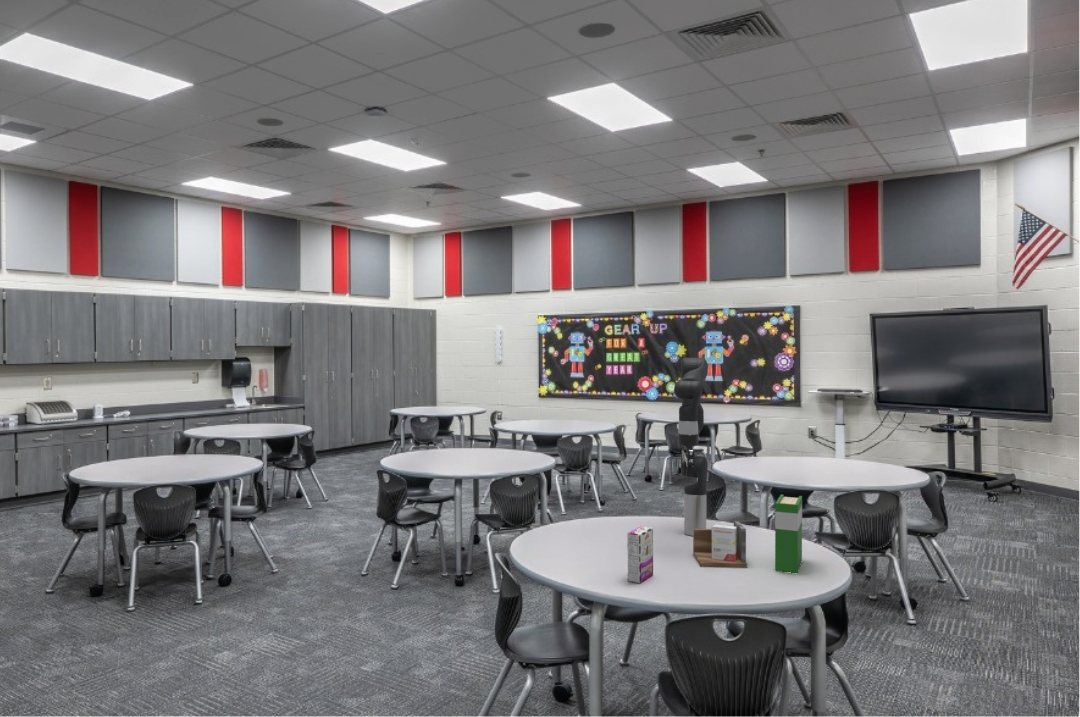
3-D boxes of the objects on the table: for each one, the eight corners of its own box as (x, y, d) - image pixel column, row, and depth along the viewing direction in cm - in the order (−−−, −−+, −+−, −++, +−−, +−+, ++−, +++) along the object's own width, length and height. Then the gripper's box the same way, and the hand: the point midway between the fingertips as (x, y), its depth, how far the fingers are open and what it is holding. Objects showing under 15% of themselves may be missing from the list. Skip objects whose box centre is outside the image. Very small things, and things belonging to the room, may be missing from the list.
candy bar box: (640, 572, 239) (640, 525, 240) (653, 575, 237) (653, 527, 237) (626, 581, 230) (626, 532, 230) (640, 584, 227) (640, 534, 227)
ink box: (737, 558, 252) (737, 526, 252) (735, 561, 248) (735, 529, 248) (713, 555, 256) (713, 523, 256) (711, 559, 251) (711, 526, 251)
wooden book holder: (693, 555, 262) (693, 519, 262) (737, 555, 261) (737, 520, 261) (700, 566, 247) (700, 529, 247) (747, 567, 246) (747, 530, 246)
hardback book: (780, 558, 258) (781, 494, 258) (801, 560, 255) (802, 496, 255) (775, 571, 242) (775, 503, 242) (797, 574, 239) (797, 505, 239)
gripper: (675, 430, 272) (675, 471, 272) (681, 434, 257) (680, 477, 257) (694, 430, 271) (694, 472, 271) (701, 434, 257) (701, 478, 257)
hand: (687, 474), depth 264 cm, fingers open, 8 cm apart
